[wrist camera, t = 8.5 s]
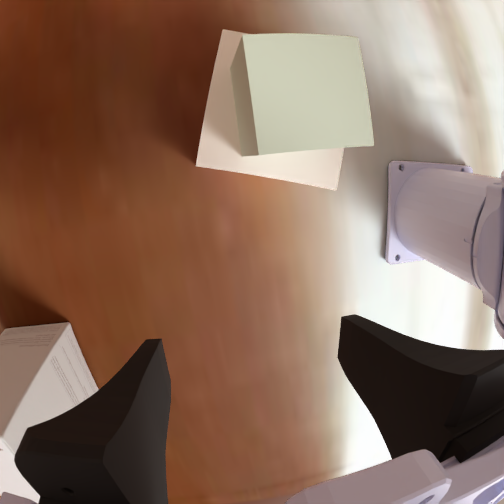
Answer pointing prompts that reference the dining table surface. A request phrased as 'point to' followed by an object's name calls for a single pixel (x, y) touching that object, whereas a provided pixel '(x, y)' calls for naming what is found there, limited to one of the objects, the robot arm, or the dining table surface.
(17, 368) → the supplement box
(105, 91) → the dining table surface
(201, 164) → the cream block
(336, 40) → the sage block
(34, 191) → the dining table surface
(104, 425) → the robot arm
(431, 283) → the dining table surface
